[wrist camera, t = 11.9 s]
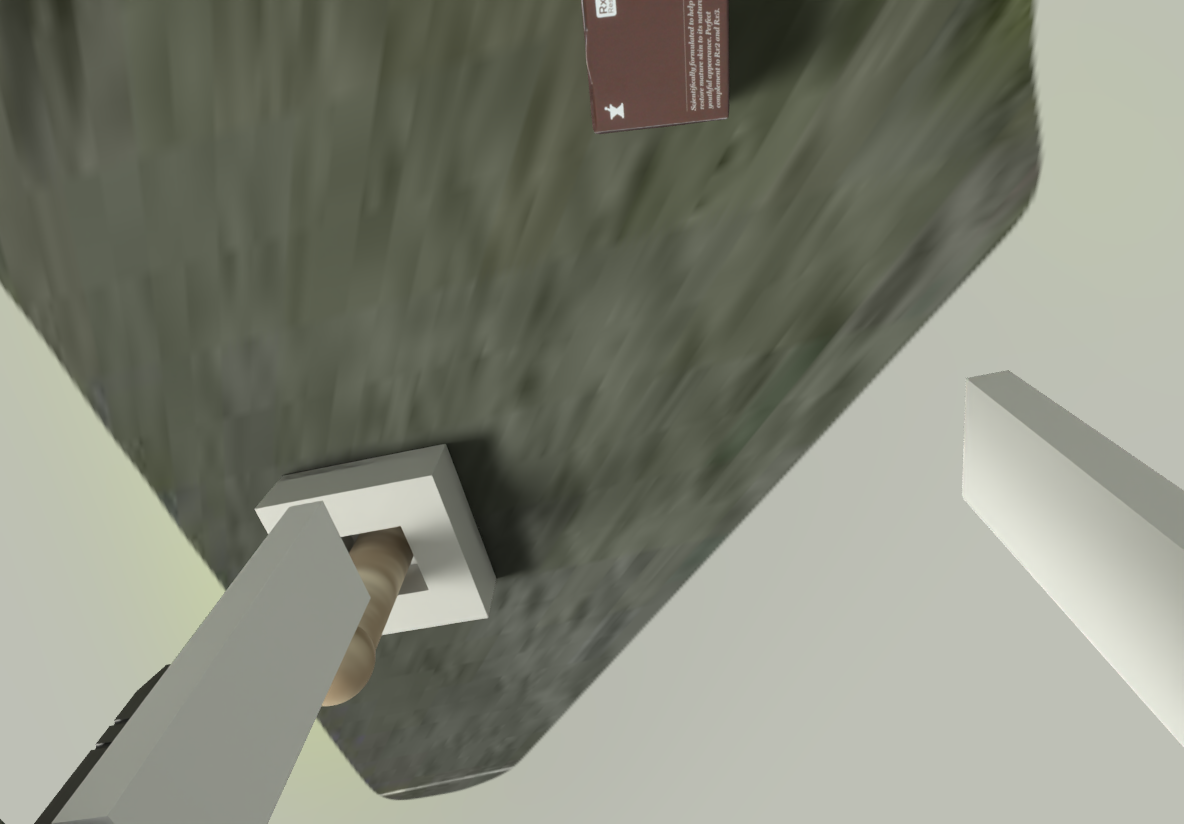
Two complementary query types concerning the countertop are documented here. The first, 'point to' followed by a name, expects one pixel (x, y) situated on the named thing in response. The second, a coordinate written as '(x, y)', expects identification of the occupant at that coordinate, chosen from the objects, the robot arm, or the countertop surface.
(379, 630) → the pestle
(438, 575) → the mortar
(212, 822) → the robot arm
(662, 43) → the box
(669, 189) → the countertop surface
